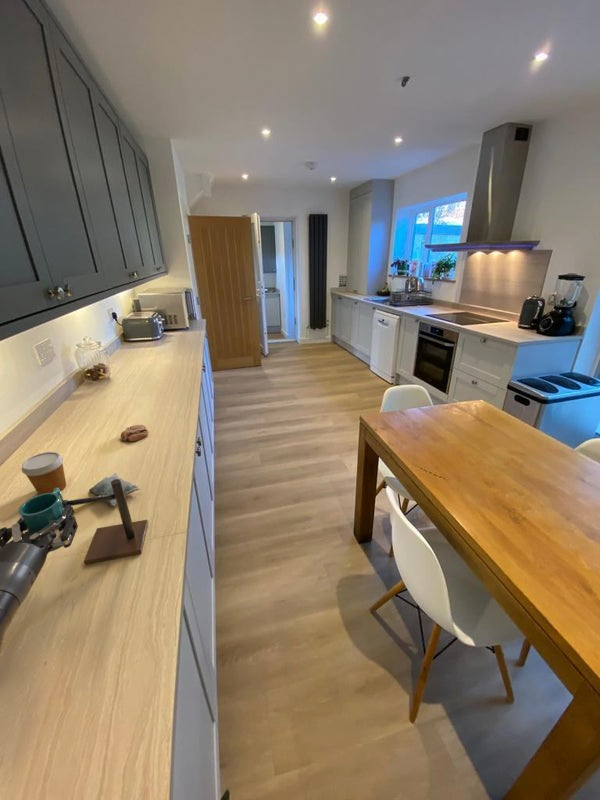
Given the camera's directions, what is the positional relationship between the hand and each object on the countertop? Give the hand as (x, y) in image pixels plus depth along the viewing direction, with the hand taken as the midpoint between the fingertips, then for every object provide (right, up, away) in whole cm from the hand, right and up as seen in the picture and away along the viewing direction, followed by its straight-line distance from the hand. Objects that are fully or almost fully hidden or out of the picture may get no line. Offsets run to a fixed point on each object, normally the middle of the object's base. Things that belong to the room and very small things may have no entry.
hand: (50, 511), depth 69 cm
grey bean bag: (-1, -4, +27) cm, 27 cm away
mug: (0, -6, +2) cm, 6 cm away
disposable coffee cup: (-20, -4, +27) cm, 34 cm away
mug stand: (+7, -12, +11) cm, 17 cm away
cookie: (-12, +10, +58) cm, 60 cm away
